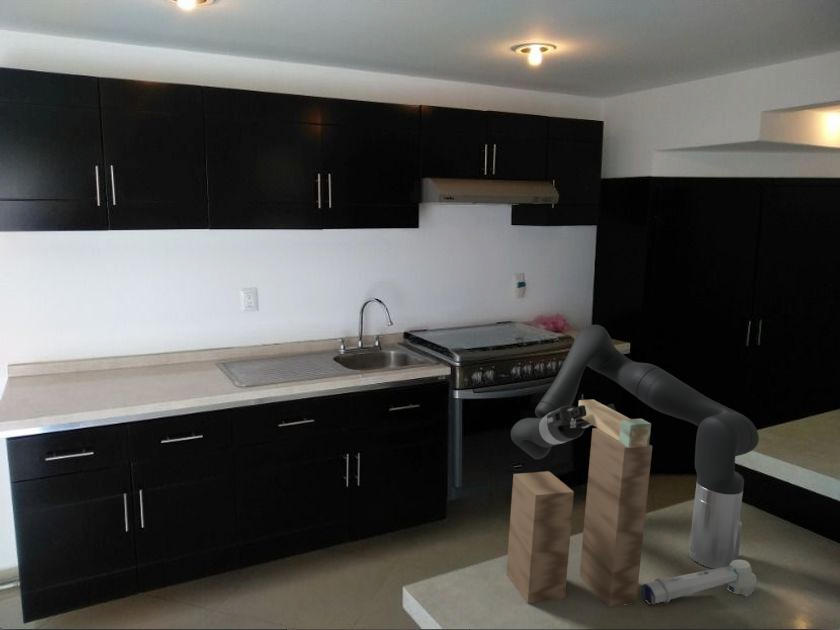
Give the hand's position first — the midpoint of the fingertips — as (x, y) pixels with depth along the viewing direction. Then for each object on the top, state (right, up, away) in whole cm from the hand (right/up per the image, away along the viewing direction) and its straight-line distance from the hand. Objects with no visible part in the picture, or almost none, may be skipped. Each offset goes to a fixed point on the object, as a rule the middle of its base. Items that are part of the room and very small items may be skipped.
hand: (598, 409), depth 129 cm
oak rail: (+1, -4, -4) cm, 5 cm away
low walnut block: (-14, -35, -3) cm, 38 cm away
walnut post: (+1, -36, -3) cm, 36 cm away
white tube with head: (+19, -37, -3) cm, 42 cm away
